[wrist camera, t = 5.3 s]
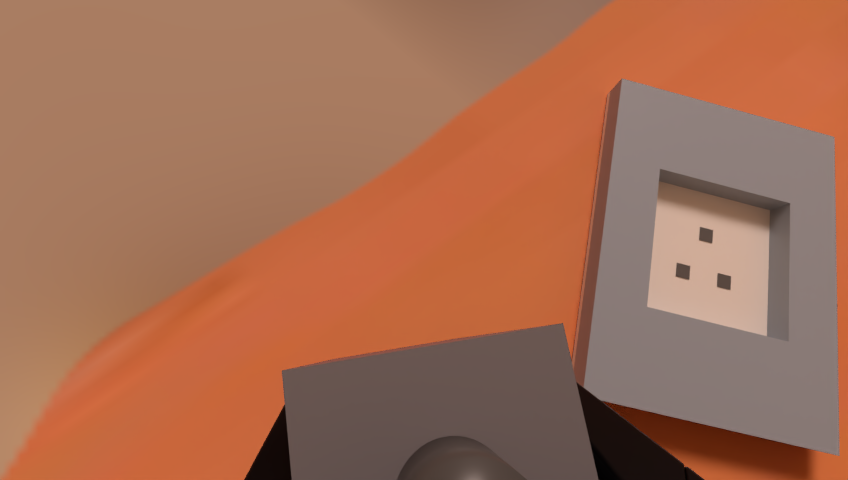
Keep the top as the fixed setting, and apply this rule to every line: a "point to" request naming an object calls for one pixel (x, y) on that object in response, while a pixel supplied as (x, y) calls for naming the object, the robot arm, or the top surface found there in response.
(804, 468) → the top surface
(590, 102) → the top surface
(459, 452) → the plug
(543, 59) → the top surface
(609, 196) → the socket
